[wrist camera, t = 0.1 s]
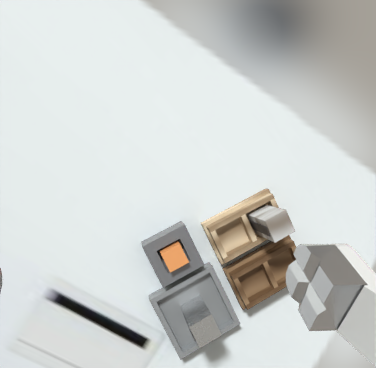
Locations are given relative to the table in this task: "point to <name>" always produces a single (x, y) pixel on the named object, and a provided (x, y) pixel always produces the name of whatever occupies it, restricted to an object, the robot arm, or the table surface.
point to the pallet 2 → (261, 272)
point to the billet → (200, 321)
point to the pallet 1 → (247, 226)
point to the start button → (174, 256)
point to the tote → (184, 291)
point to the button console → (165, 239)
